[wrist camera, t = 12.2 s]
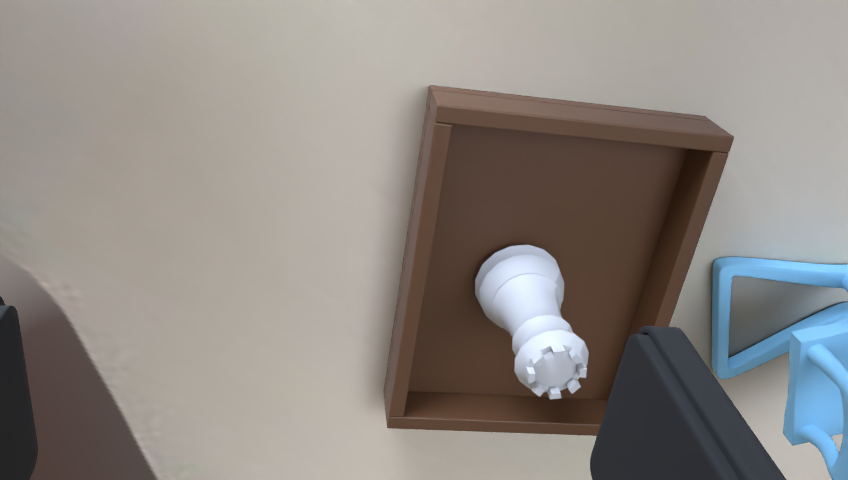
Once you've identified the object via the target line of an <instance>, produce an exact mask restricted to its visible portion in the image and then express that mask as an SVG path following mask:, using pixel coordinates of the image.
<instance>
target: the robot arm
mask: <svg viewBox="0 0 848 480" xmlns="http://www.w3.org/2000/svg"><path fill="white" fill-rule="evenodd" d="M37 453H38V445H37V437H36V431H35V425H34V418H33V411H32V405H31V398H30V391H29V385H28V378H27V372H26V365H25V359H24V352H23V345H22V339H21V332H20V325H19V319H18V314H17V310H16V308H15V307H13V306H5V304H4V301H3V299H2V298H1V297H0V480H29V479H30V477H31V475H32V473H33V470H34V468H35V464H36V460H37ZM590 470H591V476H592V479H593V480H786V479H785V477H784V476H783V474H782V473H781V471H780V470H779V468H778V467H777V466H776V464H775V463H774V461H773V460H772V458H771V457H770V456H769V454H768V453H767V451H766V450H765V448H764V447H763V446H762V444H761V443H760V441H759V440H758V438H757V437H756V436H755V434H754V433H753V431H752V430H751V428H750V427H749V426H748V424H747V423H746V421H745V420H744V418H743V417H742V416H741V414H740V413H739V411H738V410H737V408H736V407H735V405H734V404H733V403H732V401H731V400H730V398H729V397H728V395H727V394H726V393H725V391H724V390H723V388H722V387H721V385H720V384H719V383H718V381H717V380H716V378H715V377H714V375H713V374H712V373H711V371H710V370H709V368H708V367H707V365H706V364H705V363H704V361H703V360H702V358H701V357H700V355H699V354H698V352H697V351H696V350H695V348H694V347H693V345H692V344H691V342H690V341H689V340H688V338H687V337H686V335H685V334H684V332H683V331H682V330H681V329H679V328H676V327H657V326H644V327H642V328H641V329H640V330H639V331H638V334H633V335H630V337H629V338H628V340H627V342H626V346H625V349H624V352H623V355H622V358H621V362H620V365H619V368H618V371H617V374H616V377H615V381H614V384H613V387H612V390H611V393H610V397H609V400H608V403H607V406H606V409H605V413H604V416H603V419H602V422H601V425H600V429H599V432H598V435H597V438H596V441H595V445H594V448H593V451H592V454H591V460H590Z"/></svg>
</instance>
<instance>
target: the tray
mask: <svg viewBox="0 0 848 480" xmlns="http://www.w3.org/2000/svg"><path fill="white" fill-rule="evenodd" d="M733 139H734V137H733V136H732V135H730V134H729V133H728V132H726V131H725V130H723V129H722V128H721V127H719V126H718V125H716V124H715V123H714V122H712V121H711V120H709V119H708V118H707V117H705V116H698V115H689V114H681V113H672V112H663V111H654V110H645V109H636V108H627V107H619V106H610V105H601V104H592V103H583V102H574V101H565V100H557V99H548V98H539V97H530V96H521V95H512V94H503V93H494V92H486V91H477V90H468V89H459V88H450V87H441V86H432V85H431V86H430V87H429V93H428V99H427V106H426V113H425V119H424V126H423V133H422V139H421V146H420V153H419V159H418V166H417V173H416V179H415V186H414V193H413V199H412V206H411V213H410V219H409V226H408V233H407V239H406V246H405V253H404V259H403V266H402V273H401V279H400V286H399V293H398V299H397V306H396V313H395V319H394V326H393V333H392V339H391V346H390V353H389V359H388V366H387V373H386V379H385V386H384V400H385V411H386V421H387V428H398V429H426V430H454V431H482V432H509V433H537V434H565V435H593V436H597V435H598V432H599V429H600V425H601V422H602V419H603V416H604V413H605V409H606V406H607V403H608V400H609V397H610V393H611V390H612V387H613V384H614V381H615V377H616V374H617V371H618V368H619V365H620V362H621V358H622V355H623V352H624V349H625V346H626V342H627V340H628V338H629V337H630V335H633V334H638V331H639V330H640V329H641V328H642V327H644V326H657V327H669V324H670V321H671V318H672V315H673V312H674V310H675V307H676V304H677V301H678V298H679V295H680V292H681V289H682V287H683V284H684V281H685V278H686V275H687V272H688V269H689V266H690V264H691V261H692V258H693V255H694V252H695V249H696V246H697V243H698V241H699V238H700V235H701V232H702V229H703V226H704V223H705V220H706V218H707V215H708V212H709V209H710V206H711V203H712V200H713V197H714V195H715V192H716V189H717V186H718V183H719V180H720V177H721V174H722V172H723V169H724V166H725V163H726V160H727V157H728V153H729V151H730V148H731V145H732V142H733ZM517 245H531V246H534V247H538V248H541V249H544V250H545V251H546V252H547V253H549V254H550V255H551V256H552V257H553V258H554V259H555V260H556V262H557V265H558V267H559V270H560V272H561V275H562V278H563V280H564V297H563V302H562V304H561V308H560V312H561V316H562V319H564V320H565V321H566V322H567V323H569V324H570V326H571V329H572V331H573V333H574V334H576V335H577V336H578V337H579V338H580V339H582V340H583V341H584V342H585V345H586V347H587V349H588V352H589V355H588V364H587V366H586V368H587V373H586V378H582V377H580V378H579V379H578V382H579V384H580V386H581V387H580V388H579V389H578V390H576V391H575V392H574V393H573V394H572V393H571V392H570V391H569V389H568V388H566V389H563V390H561V391H560V393H561V398H560V399H550V398H549V395H548V393H547V392H544V393H543V394H542V395H541V396H540V397H539V396H538V395H537V394H535V393H534V392H533V391H532V389H529V388H528V387H527V386H525V385H524V384H522V383H521V382H520V381H519V379H518V377H517V375H516V373H515V371H514V369H515V358H516V356H515V354H514V352H513V350H512V339H513V338H512V336H511V335H510V333H509V332H508V331H506V330H505V329H504V328H501V327H499V326H498V325H496V324H495V323H494V322H492V321H491V320H490V319H489V318H488V317H487V316H486V315H485V313H484V311H483V309H482V307H481V305H480V303H479V301H478V299H477V297H476V295H475V279H476V277H477V275H478V273H479V270H480V268H481V266H482V265H483V264H484V263H485V262H486V261H487V260H488V259H489V258H490V257H491V256H492V255H493V254H494V253H496V252H498V251H501V250H503V249H505V248H507V247H510V246H517Z"/></svg>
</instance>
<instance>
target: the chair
mask: <svg viewBox="0 0 848 480" xmlns="http://www.w3.org/2000/svg"><path fill="white" fill-rule="evenodd" d="M733 276H746V277H754V278H762V279H769V280H776V281H784V282H791V283H798V284H806V285H814V286H823V287H835V288H844V289H845V290H846V291H847V292H848V264H837V265H834V264H813V263H801V262H790V261H780V260H770V259H759V258H746V257H724V258H719V259H716V260H715V262H714V263H713V285H712V368H713V370H714V371H715V373H716V374H717V376H718V377H719V378H720V379H727V378H731V377H734V376H737V375H739V374H742V373H744V372H746V371H749V370H751V369H753V368H755V367H757V366H759V365H762V364H764V363H766V362H768V361H770V360H772V359H774V358H776V357H778V356H780V355H782V354H784V353H786V352H788V351H789V388H788V398H787V404H786V409H785V415H784V428H783V434H784V435H785V437H786V438H787V439H788V441H789V442H790V443H791V444H792V446H793V445H798V444H802V443H807V442H810V443H812V444H814V445H815V446H816V447H817V448H818V449H819V451H820V452H821V454H822V456H823V458H824V460H825V463H826V465H827V468H828V471H829V474H830V476H831V478H832V480H848V302H845V303H840V304H837V305H835V306H832V307H829V308H827V309H825V310H823V311H820V312H818V313H816V314H814V315H812V316H810V317H808V318H806V319H804V320H802V321H800V322H798V323H796V324H794V325H792V326H790V327H788V328H786V329H784V330H782V331H780V332H778V333H777V334H775V335H773V336H771V337H769V338H767V339H765V340H763V341H761V342H759V343H757V344H756V345H754V346H752V347H750V348H748V349H746V350H744V351H742V352H740V353H738V354H736V355H734V356H732V357H730V358H728V348H729V322H730V299H731V280H732V278H733ZM841 433H843V439H842V445H841V448H840V452H839V453H838V450H837V447H836V444H835V443H834V441H833V439H832V438H831V436H834V435H837V434H841Z"/></svg>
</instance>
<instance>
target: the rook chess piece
mask: <svg viewBox="0 0 848 480" xmlns="http://www.w3.org/2000/svg"><path fill="white" fill-rule="evenodd" d="M475 295H476V297H477V299H478V301H479V303H480V305H481V307H482V309H483V311H484V313H485V315H486V316H487V317H488V318H489V319H490V320H491V321H492V322H494V323H495V324H496V325H498V326H499V327H501V328H504V329H505V330H506V331H508V332H509V333H510V335H511V336H512V338H513V339H512V350H513V352H514V354H515V356H516V358H515V369H514V371H515V373H516V375H517V377H518V379H519V381H520V382H521V383H522V384H524V385H525V386H527V387H528V388H529V389H532V391H533V392H534V393H535V394H537V395H538V396H539V397H540V396H541V395H542V394H543V393H544V392H547V393H548V395H549V398H550V399H560V398H561V393H560V391H561V390H563V389H566V388H568V389H569V391H570V392H571V393H572V394H573V393H574V392H575V391H576V390H578V389H579V388H580V387H581V386H580V384H579V382H578V379H579V378H580V377H582V378H586V373H587V368H586V366H587V364H588V355H589V352H588V349H587V347H586V345H585V342H584V341H583V340H582V339H580V338H579V337H578V336H577V335H576V334H574V333H573V331H572V329H571V326H570V324H569V323H567V322H566V321H565V320H564V319H562V316H561V312H560V308H561V304H562V302H563V297H564V280H563V278H562V275H561V272H560V270H559V267H558V265H557V262H556V260H555V259H554V258H553V257H552V256H551V255H550V254H549V253H547V252H546V251H545V250H544V249H541V248H538V247H534V246H531V245H517V246H510V247H507V248H505V249H503V250H501V251H498V252H496V253H494V254H493V255H492V256H491V257H490V258H489V259H488V260H487V261H486V262H485V263H484V264H483V265H482V266H481V268H480V270H479V273H478V275H477V277H476V279H475Z"/></svg>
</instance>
